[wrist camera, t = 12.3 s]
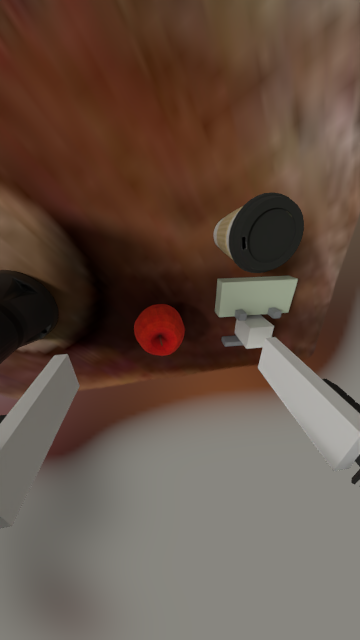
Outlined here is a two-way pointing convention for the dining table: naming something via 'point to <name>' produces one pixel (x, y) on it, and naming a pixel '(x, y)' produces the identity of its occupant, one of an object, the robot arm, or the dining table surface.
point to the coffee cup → (261, 232)
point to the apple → (159, 329)
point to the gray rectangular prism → (253, 331)
